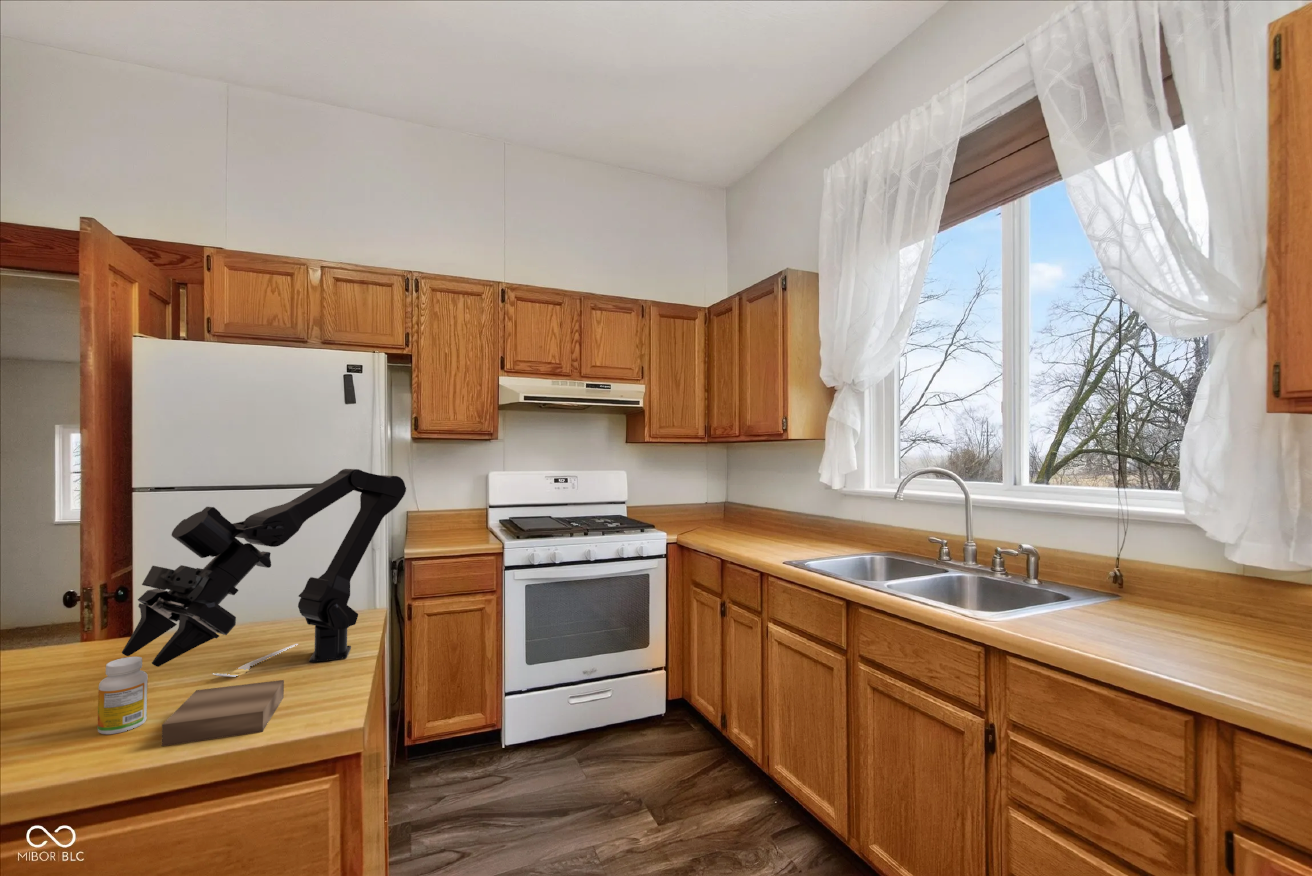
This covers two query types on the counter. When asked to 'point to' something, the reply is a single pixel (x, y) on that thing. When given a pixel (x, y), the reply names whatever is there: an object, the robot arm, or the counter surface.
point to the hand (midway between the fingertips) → (139, 659)
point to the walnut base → (223, 712)
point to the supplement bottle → (122, 696)
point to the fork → (256, 661)
